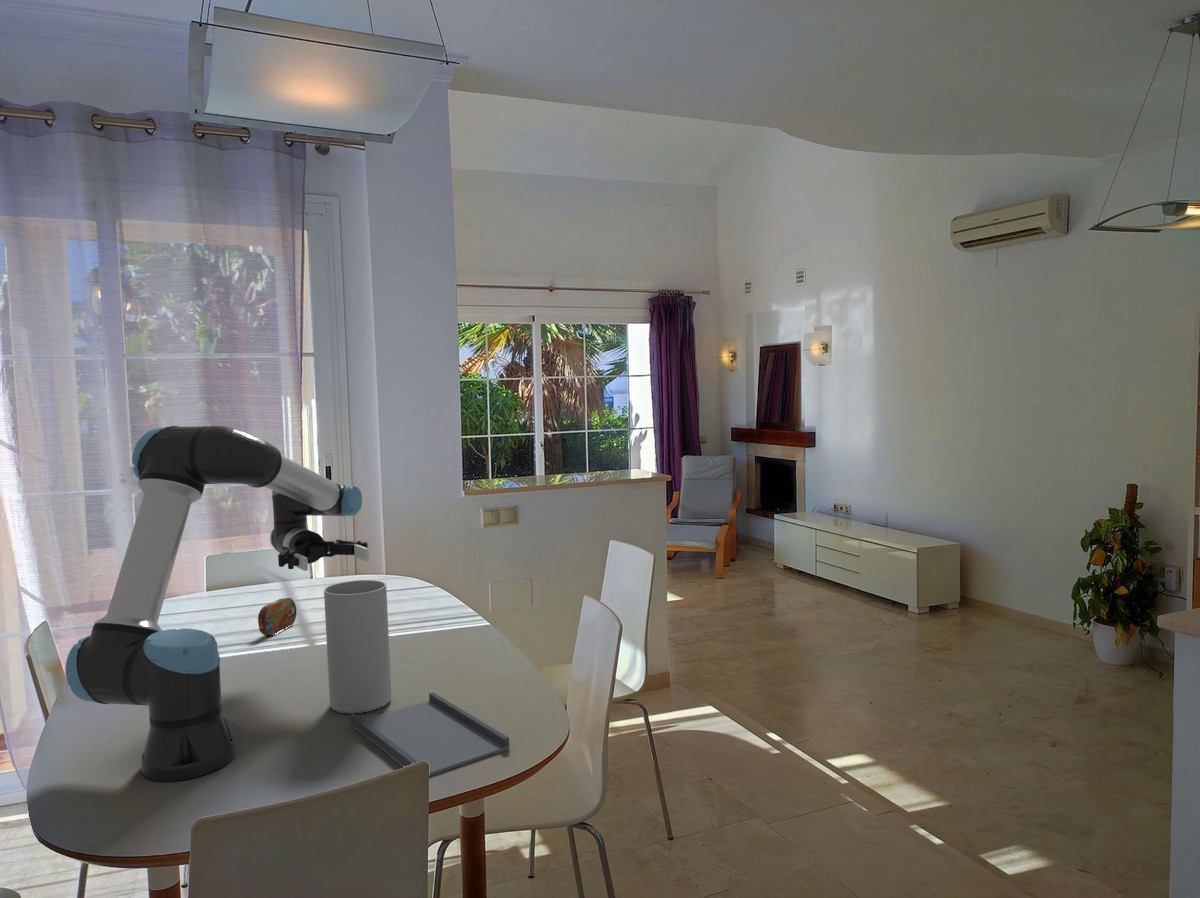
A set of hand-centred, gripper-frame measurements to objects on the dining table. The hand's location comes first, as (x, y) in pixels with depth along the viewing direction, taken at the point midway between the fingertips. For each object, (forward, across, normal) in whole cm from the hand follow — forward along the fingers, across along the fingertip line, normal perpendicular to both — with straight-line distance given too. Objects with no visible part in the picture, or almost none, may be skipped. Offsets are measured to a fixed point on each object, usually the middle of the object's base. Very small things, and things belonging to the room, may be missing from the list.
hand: (337, 559), depth 181 cm
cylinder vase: (+10, 0, -30) cm, 31 cm away
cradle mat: (+35, -3, -29) cm, 46 cm away
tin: (-58, -3, -30) cm, 65 cm away
